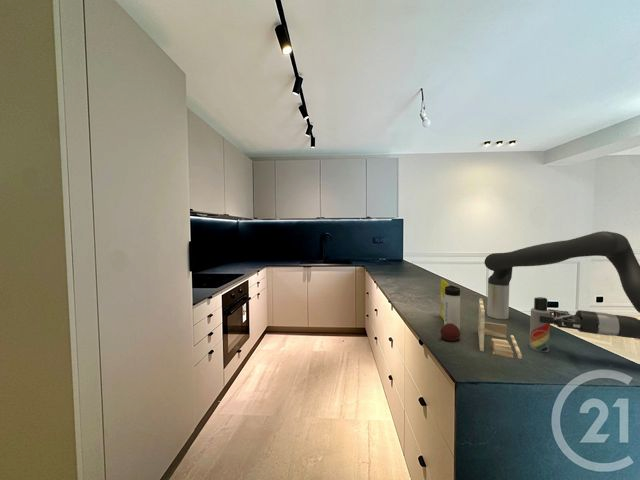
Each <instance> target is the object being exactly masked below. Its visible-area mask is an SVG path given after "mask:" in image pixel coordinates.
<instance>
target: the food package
mask: <svg viewBox="0 0 640 480" xmlns="http://www.w3.org/2000/svg"><path fill="white" fill-rule="evenodd" d="M447 286H450V284H449V283H448V282H447V281H446V280H444V279H442V278H440V302H439V303H440V309H439V315H440V317H441V319H442V321H444V304H445V287H447Z"/></svg>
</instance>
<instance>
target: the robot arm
mask: <svg viewBox="0 0 640 480" xmlns="http://www.w3.org/2000/svg"><path fill="white" fill-rule="evenodd" d="M593 256H594V257H595V256H596V257H606V259H607V260H608V261H609V262H610V263H611V264H612V265H613V266H614V269H615V270H616V272H617V274H618V277H619V281H620V283H621V287H622V289H623V291H624V293H625V295H626V297H627V299H628V300H629V302H630V303H631V305H632V306H633V308H634V309H635V310H636V312H637V313H639V314H640V263H639V261H638V259H637V258H636V255H635V253H634V250H633V248H632V247H631V244H630V241H629V240H628V238H627V237H626V236H625V235H623V234H621V233H618V232H612V231H608V230H607V231H604V230H602V231H596V232H593V233H590V234H586V235H583V236H578V237H575V238H571V239H567V240H566V239H565V240H558V241H552V242H545V243H539V244H534V245H531V246H527V247H524V248H520V249H516V250H512V251H507V252H493V253H491V254H490V253H489V254H488V255H487V256H486V257H485V259H484V265H485V267H486V268H487V269H488V270H489V271H493V272H492V274H491V275H490V276H489V277H488V279H487V303H486V304H487V307H486V309H487V310H486V315H487V316H488V317H490V318H492V319H497V320H507V319H509V311H510V309H509V308H510V307H509V306H510V282H511V280H512V278H513V277H512V275H513V268H517V267H538V266H546V265H548V266H549V265H553V264H558V263H561V262H564V261H567V260H569V259H574V258H582V257H593ZM547 310H548V311H550V317H545V316H540V317H539V321H540V322H541V323H548V324H550V325H553V326H557V328H560V329H561V328H563V329H571V330H577V331H578V332H581V333H584V334H585V333H587V334H593V335H600V336H612V337H613V336H614V337H620V338H629V339H636V340H640V319H638V318H637V317H633V316H628V315H619V314H612V313H607V312H599V311H590V310H582V309H581V310H580V309H579V310H576V312H575V314H571V313H569V311H567V310H565V311H564V310H557V309H550V308H547Z"/></svg>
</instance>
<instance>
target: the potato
mask: <svg viewBox="0 0 640 480" xmlns="http://www.w3.org/2000/svg"><path fill="white" fill-rule="evenodd" d="M440 336H441V337H442V339H444V340H445V341H448V342H457V341H458V340H459V339H460V338H461V331H460V328H459V329H458V327H457V326H456V325H454V324H452V323H448V324H445V325H444V324H443V326H441V328H440Z"/></svg>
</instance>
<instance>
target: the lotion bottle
mask: <svg viewBox="0 0 640 480" xmlns="http://www.w3.org/2000/svg"><path fill="white" fill-rule="evenodd" d="M533 299H534V300H533V301H534V302H533V303H534V305H533V307H532V308H531V309H530V321H529V323H530V324H529V325H530V327H529V348H530V349H532V350H535V351H537V352H542V353H547V352H549V351H550V331H551V324H548V323H541V322H540V321H539V317H540V316H545V317H550V311H548V298H547V297H544V296H543V297H541V296H539V297H534V298H533Z"/></svg>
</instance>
